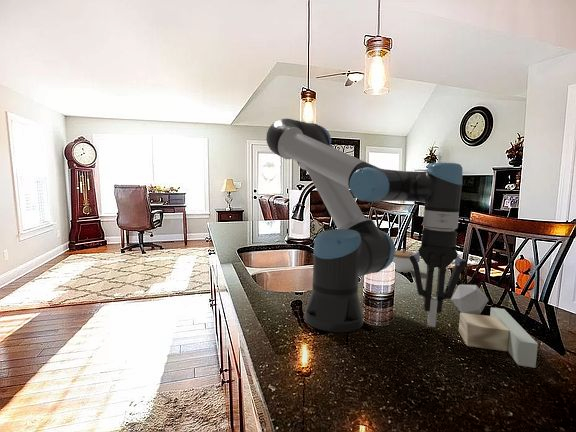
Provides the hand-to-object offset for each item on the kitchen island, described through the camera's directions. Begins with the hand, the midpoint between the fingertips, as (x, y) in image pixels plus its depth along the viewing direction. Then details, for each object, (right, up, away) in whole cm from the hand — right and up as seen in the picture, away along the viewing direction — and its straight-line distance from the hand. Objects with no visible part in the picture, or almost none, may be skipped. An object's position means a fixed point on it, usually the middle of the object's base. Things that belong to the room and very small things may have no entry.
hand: (431, 324), depth 81 cm
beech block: (+10, -3, -3) cm, 11 cm away
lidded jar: (+14, +3, +60) cm, 62 cm away
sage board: (+16, -3, -5) cm, 17 cm away
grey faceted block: (+17, -2, +15) cm, 23 cm away
